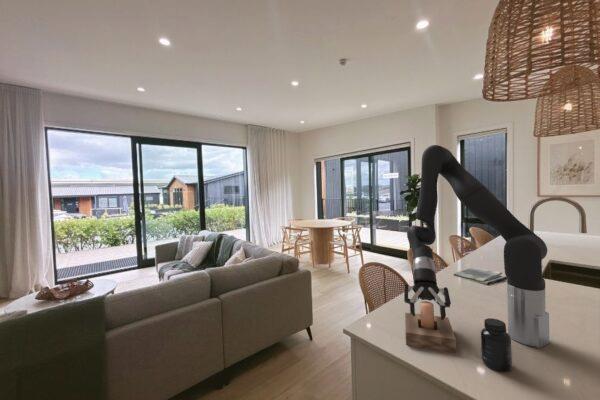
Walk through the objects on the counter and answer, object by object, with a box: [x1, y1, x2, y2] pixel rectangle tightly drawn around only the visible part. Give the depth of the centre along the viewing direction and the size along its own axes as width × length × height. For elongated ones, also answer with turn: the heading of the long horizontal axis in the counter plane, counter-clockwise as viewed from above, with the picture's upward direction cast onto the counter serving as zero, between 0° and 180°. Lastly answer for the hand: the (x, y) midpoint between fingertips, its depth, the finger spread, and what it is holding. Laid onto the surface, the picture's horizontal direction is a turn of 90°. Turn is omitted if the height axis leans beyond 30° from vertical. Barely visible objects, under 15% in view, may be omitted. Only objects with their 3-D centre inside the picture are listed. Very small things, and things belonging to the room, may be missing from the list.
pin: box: [419, 300, 435, 330], centre depth 88 cm, size 4×4×10 cm
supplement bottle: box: [480, 317, 513, 373], centre depth 73 cm, size 7×7×12 cm
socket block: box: [404, 312, 457, 353], centre depth 88 cm, size 14×14×4 cm
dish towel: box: [453, 267, 507, 286], centre depth 141 cm, size 19×18×3 cm
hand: (427, 317), depth 87 cm, fingers open, 8 cm apart
